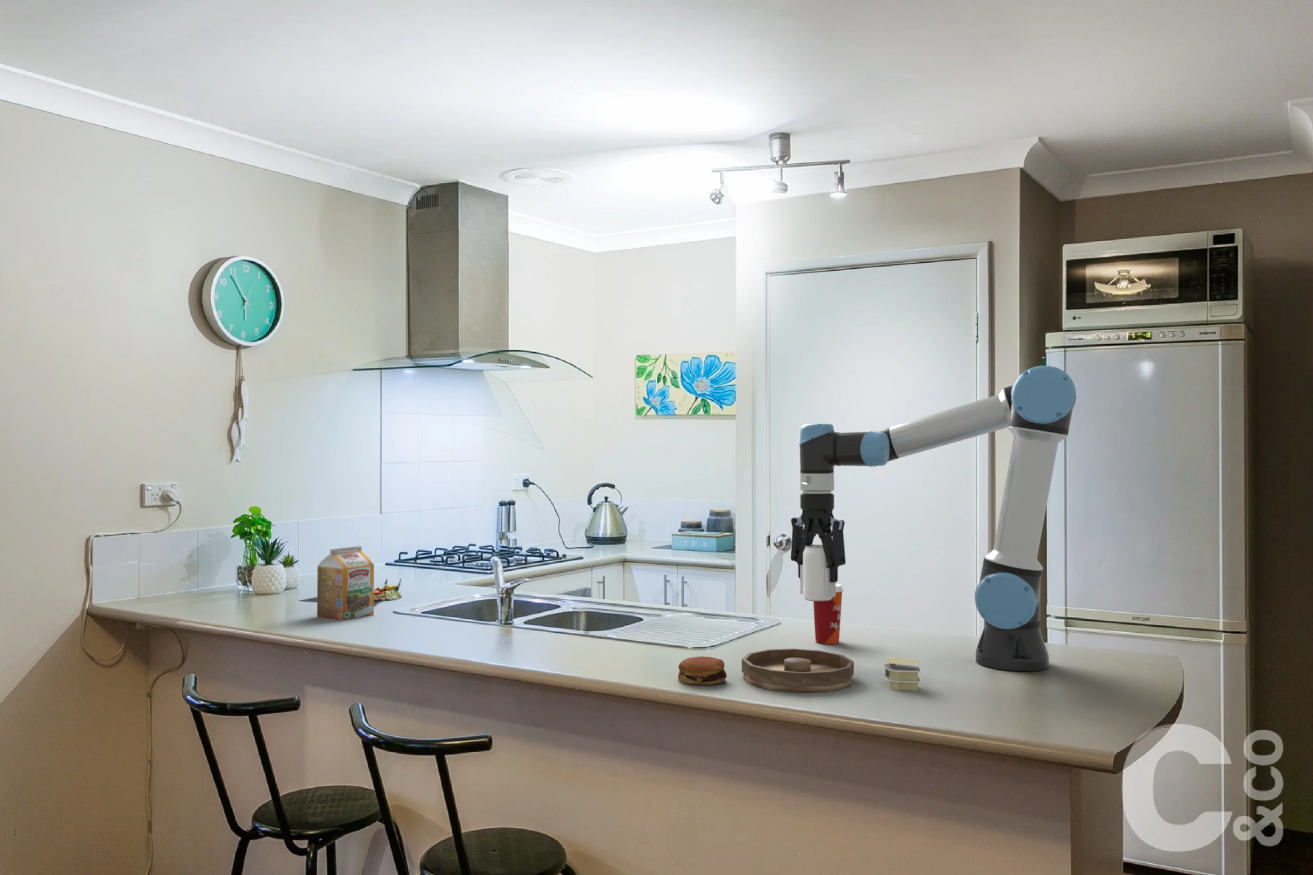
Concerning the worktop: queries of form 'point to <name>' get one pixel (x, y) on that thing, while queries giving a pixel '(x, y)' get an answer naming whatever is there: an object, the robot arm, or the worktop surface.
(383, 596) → the plated dish
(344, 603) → the milk carton
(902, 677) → the yellow layered block
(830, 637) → the paper cup
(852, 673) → the tray
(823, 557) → the can
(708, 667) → the burger
